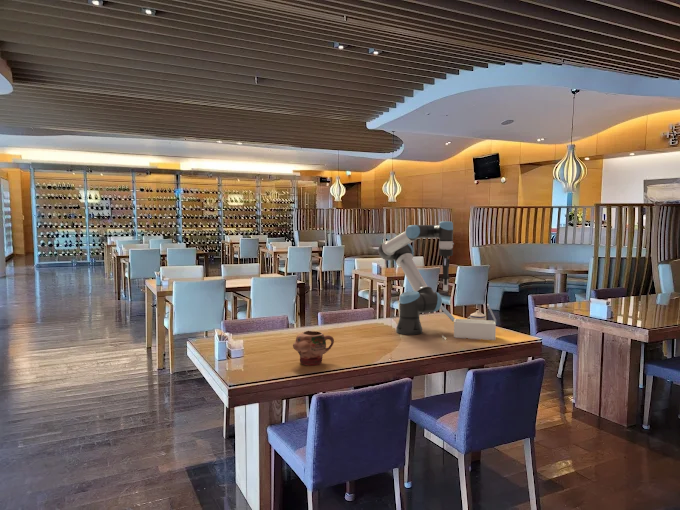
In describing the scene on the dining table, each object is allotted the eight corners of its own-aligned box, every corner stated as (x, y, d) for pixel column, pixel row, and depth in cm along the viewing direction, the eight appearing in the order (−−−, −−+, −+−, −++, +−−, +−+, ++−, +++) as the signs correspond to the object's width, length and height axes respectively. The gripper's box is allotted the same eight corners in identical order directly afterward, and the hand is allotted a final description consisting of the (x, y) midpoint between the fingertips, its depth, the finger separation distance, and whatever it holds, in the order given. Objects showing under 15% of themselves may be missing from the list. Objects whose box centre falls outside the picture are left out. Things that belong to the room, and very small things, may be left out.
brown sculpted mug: (326, 356, 230) (326, 327, 230) (339, 362, 220) (339, 332, 219) (288, 362, 220) (288, 332, 219) (300, 369, 210) (300, 337, 209)
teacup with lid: (488, 330, 285) (489, 310, 284) (479, 332, 280) (479, 312, 279) (472, 326, 295) (472, 308, 294) (462, 328, 289) (462, 309, 289)
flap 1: (453, 321, 266) (453, 321, 266) (454, 318, 275) (454, 318, 275) (440, 307, 268) (440, 308, 268) (442, 305, 276) (441, 305, 276)
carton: (453, 337, 267) (454, 321, 266) (455, 334, 275) (455, 318, 275) (495, 340, 260) (495, 324, 260) (495, 336, 269) (495, 320, 268)
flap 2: (495, 320, 268) (496, 320, 268) (495, 323, 260) (496, 323, 259) (487, 303, 269) (488, 303, 269) (487, 306, 260) (488, 305, 260)
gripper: (451, 249, 262) (451, 292, 264) (453, 248, 275) (453, 289, 276) (438, 249, 264) (437, 291, 266) (440, 248, 277) (440, 288, 278)
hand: (445, 290), depth 271 cm, fingers closed
